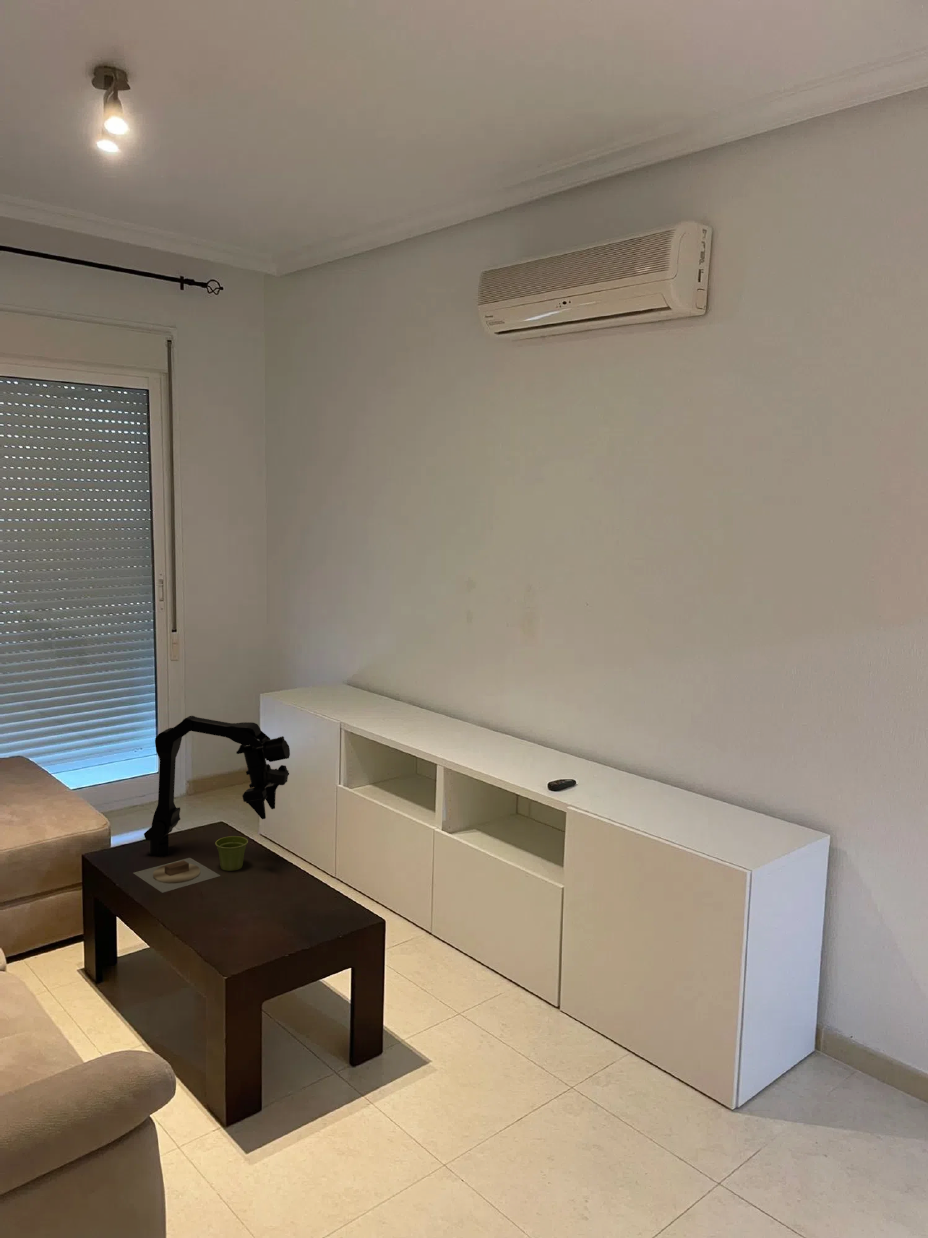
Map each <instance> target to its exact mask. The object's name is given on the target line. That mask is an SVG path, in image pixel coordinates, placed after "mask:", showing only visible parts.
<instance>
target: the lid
mask: <svg viewBox="0 0 928 1238" xmlns="http://www.w3.org/2000/svg"><path fill="white" fill-rule="evenodd" d="M182 860H183V859H182ZM175 862H176V861H175ZM171 863H172V862H171ZM167 864H168V863H167ZM199 874H200V868H199V867H198V866H196V865H193V864H189V863H187V862H186V861H184V860H183V861H180V862H176V863H172V864H168V865H165V866H162V867H159V868H158V869H156V870H155V871H154V872H153V878H154V879H155V880H156V881H158V882H162V883H182V882H187V881H190V880H193V879H195V878H196V877H198V876H199Z"/></svg>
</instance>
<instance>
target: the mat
mask: <svg viewBox="0 0 928 1238" xmlns="http://www.w3.org/2000/svg"><path fill="white" fill-rule="evenodd" d="M183 860H184V861H186V862H187V863H189V864H193V865H196V866H198V867H199V868H200V874H199V876H198V877H196V878H195V879H193V880H190V881H187V882H182V883H162V882H158V881H156V880H155V879H154V878H153V872H154V871H155V870H156V869H158V868H159V867H162V866H165V865H168V864H172V863H176V862H180V861H183ZM133 875H135V876H136V877H138V878H140V879H141V880H143V881H144V882H145V883H147V884H149V886H151V887H153V888H154V889H156V890H157V891H159V892H160V893H161V894H163V893H167V892H170V891H173V890H176V889H180V888H184V887H187V886H190V885H194V884H197V883H201V882H204V881H208V880H211V879H214V878H217V877H218V878H219V877H221V875H220V874H219V873H217V872H215V871H214V870H212V869H210V868H209V867H207V866H205V865H204V864H202V863H200V862H198V861H196V860H194V859H193V858H191V857H187V858H183V859H179V860H177V861H173V862H170V863H166V864H161V865H158V866H154V867H149V868H146V869H142V870H139V871H136V872H135V871H134V872H133Z"/></svg>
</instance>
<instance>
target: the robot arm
mask: <svg viewBox="0 0 928 1238" xmlns="http://www.w3.org/2000/svg"><path fill="white" fill-rule="evenodd" d="M190 732H195V733H200V734H205V735H206V734H207V735H211V736H216V737H222V738H227V739H229V740H230V741H233V742H234V743H236V744H240V745H239V748H238V750H237V751H236V754H237V755H239V754H240V755H241V754H243V755H244V759H245V763H246V768H247V770H246V771H245V773H246V776H249V780H250V783H249V785H248V786H249V788H247V789H246V790H245V791H244V792H243V793H242V801H243V802H244V803H246V804H248V805H249V806H250V807H251V808H252V809H253V811H254V812H256V814H257V815H258V816H259V817H260V819H261V820H265V819H266V818H267V817H266V806H265V805H266V804H265V801H266V803H267V805H268V806H269V808H270V809H271V810H275V809H276V792H277V789H278V787H279V786H285V785H286V784H287V782H288V781H289V779H288V778H289V775H290V772H289V770H288V768H287V766H286V765H283V764H281V765H280V766H279V767H278V768H272V766H271V764H269V763H271V762H272V763H273V762H277V761H281V760H287V759H289V758H290V757H291V751H290V749H291V748H290V746H289V744H288V742H287V740H285V737H284V736H279V737H274V738H271V737H269V736H268V735H267V734H266V733H265V732H263V731H262V730H261V727H260V726H259V724H258V723H256V722H253V721H251V722H247V721H246V722H245V721H244V722H234V723H233V722H226V721H221V720H220V721H219V720H214V719H210V718H203V717H197V716H195V715H189V716H187V717H185V718H183V719H182V721H181V722H179V723H178V724H176V725H175V726H173V727H168V728H167V729H165V730H163V731H161V732H159V733H158V734H157V735H156V736H155V738H154V744H155V745H154V746H155V751H156V755H157V756H158V759H159V774H158V791H157V792H158V796H157V805H156V808H155V810H154V814H153V817H152V821H151V827H149V828H148V829H147V830H146V831H145V832H144V833H143V836H144V839H145V841H148V842H149V843H148V851H149V852H148V853H149V855H150V856H153V857H160V858H161V857H166V856H169V853H170V846H169V844H170V842H169V841H170V840H169V839H170V837H169V836H170V835H169V834H170V833H171V832H172V831H173V829H174V828H175V827H176V826H177V825H178V823H179V821H180V820H181V817H180V812H181V807H180V806H179V807H176V805H175V782H176V781H175V780H176V760H177V759H176V758H177V756H178V753H179V750H180V748H181V743H182V740H183V737H184V736H185V735H187V734H188V733H190ZM267 761H268V762H269V763H267Z"/></svg>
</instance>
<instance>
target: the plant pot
mask: <svg viewBox="0 0 928 1238" xmlns="http://www.w3.org/2000/svg"><path fill="white" fill-rule="evenodd" d="M248 843H249V840H248V838H247V837H243V836H238V835H230V836H224V837H221V838H219V839H217V840H216V841H215V842H214V845H215V846H216V848H217V851H218V858H219V865H220V869H221V870H223V871H229V872H231V871H232V872H233V871H237V870H240V869H242V868H243V864H244V858H245V852H246V848H247V845H248Z"/></svg>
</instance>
